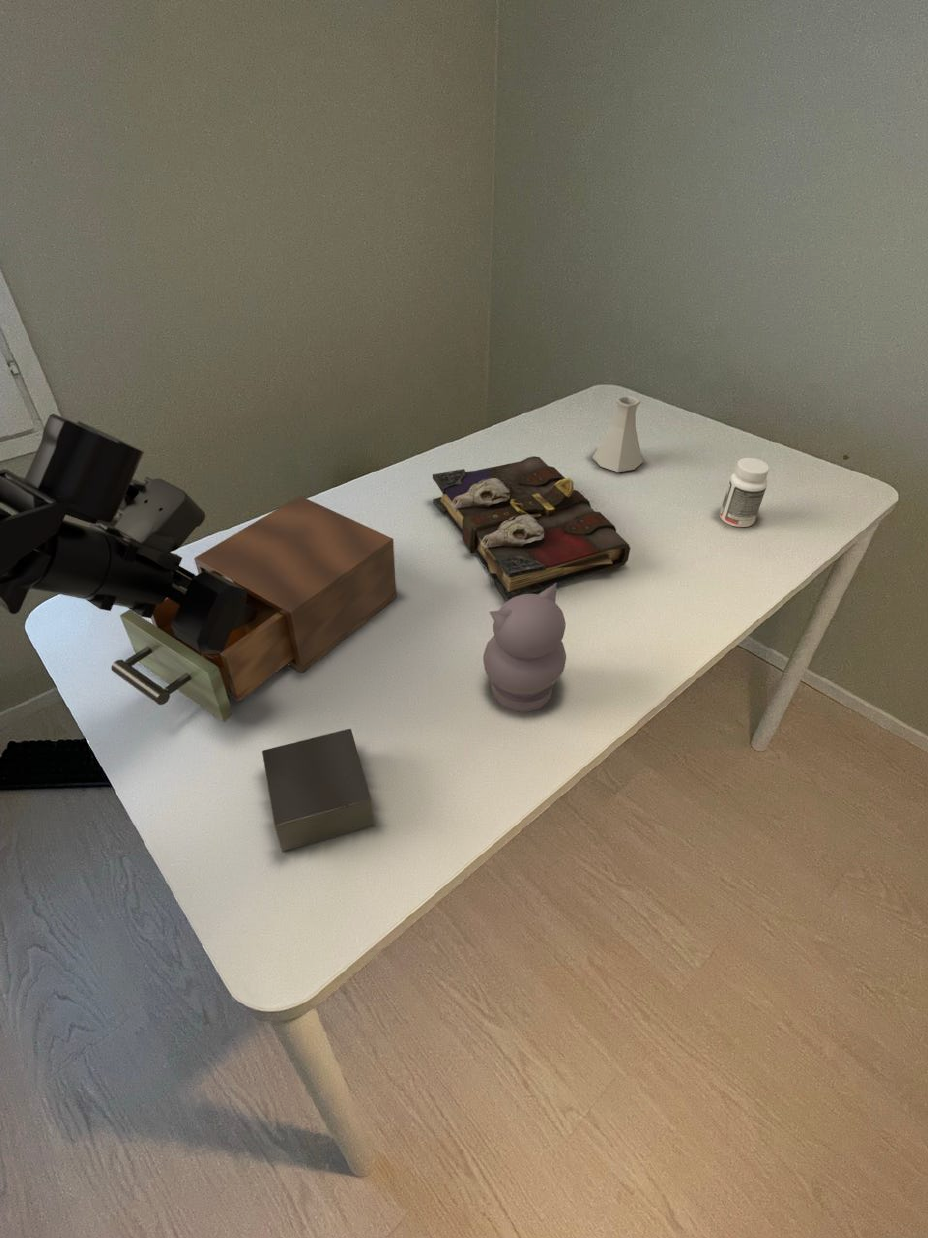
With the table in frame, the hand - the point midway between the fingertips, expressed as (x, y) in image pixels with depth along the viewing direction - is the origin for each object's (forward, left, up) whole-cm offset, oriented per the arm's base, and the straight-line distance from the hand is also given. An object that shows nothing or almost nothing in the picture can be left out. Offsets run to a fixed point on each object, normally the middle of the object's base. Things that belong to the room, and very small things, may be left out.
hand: (223, 596), depth 71 cm
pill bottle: (+68, -2, -9) cm, 69 cm away
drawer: (-2, -1, -7) cm, 8 cm away
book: (+39, +7, -9) cm, 41 cm away
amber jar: (-1, -1, -6) cm, 7 cm away
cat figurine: (+25, -17, -9) cm, 32 cm away
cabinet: (+9, +5, -8) cm, 13 cm away
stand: (+2, -21, -8) cm, 23 cm away
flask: (+62, +18, -9) cm, 65 cm away
